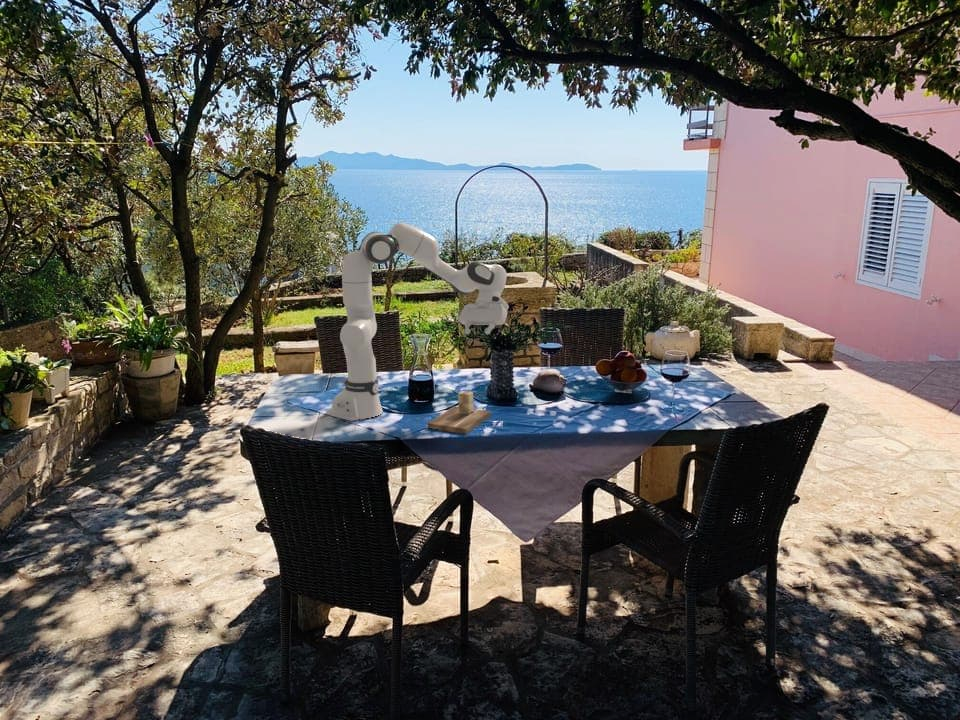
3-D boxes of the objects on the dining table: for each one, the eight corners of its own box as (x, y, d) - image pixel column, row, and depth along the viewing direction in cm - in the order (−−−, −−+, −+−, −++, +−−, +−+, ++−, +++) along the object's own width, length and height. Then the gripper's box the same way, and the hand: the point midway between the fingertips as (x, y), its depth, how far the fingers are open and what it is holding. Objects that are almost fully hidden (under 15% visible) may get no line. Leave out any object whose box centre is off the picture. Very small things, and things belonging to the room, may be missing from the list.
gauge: (458, 413, 263) (458, 393, 261) (463, 410, 267) (462, 390, 264) (471, 415, 261) (471, 395, 259) (475, 412, 264) (475, 392, 262)
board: (427, 428, 254) (427, 423, 253) (453, 411, 272) (453, 406, 272) (466, 434, 247) (466, 428, 247) (490, 416, 266) (490, 410, 265)
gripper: (462, 298, 274) (451, 328, 269) (505, 298, 262) (494, 329, 257) (469, 307, 278) (459, 336, 273) (512, 306, 267) (502, 337, 261)
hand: (476, 333), depth 265 cm, fingers open, 8 cm apart
